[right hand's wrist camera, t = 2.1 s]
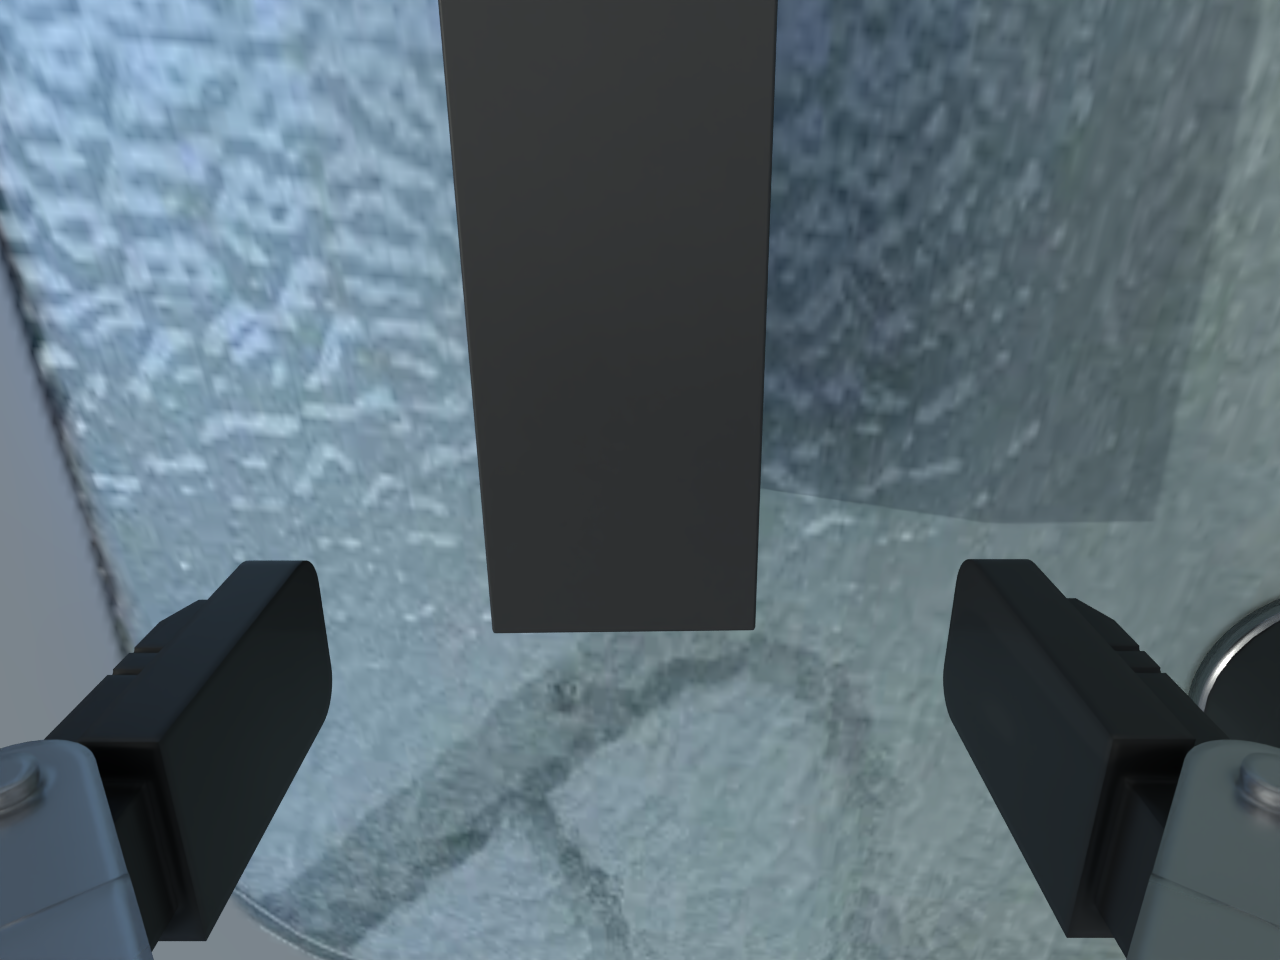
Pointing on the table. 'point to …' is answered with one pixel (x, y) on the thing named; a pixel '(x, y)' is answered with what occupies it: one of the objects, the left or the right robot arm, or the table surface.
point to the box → (615, 302)
